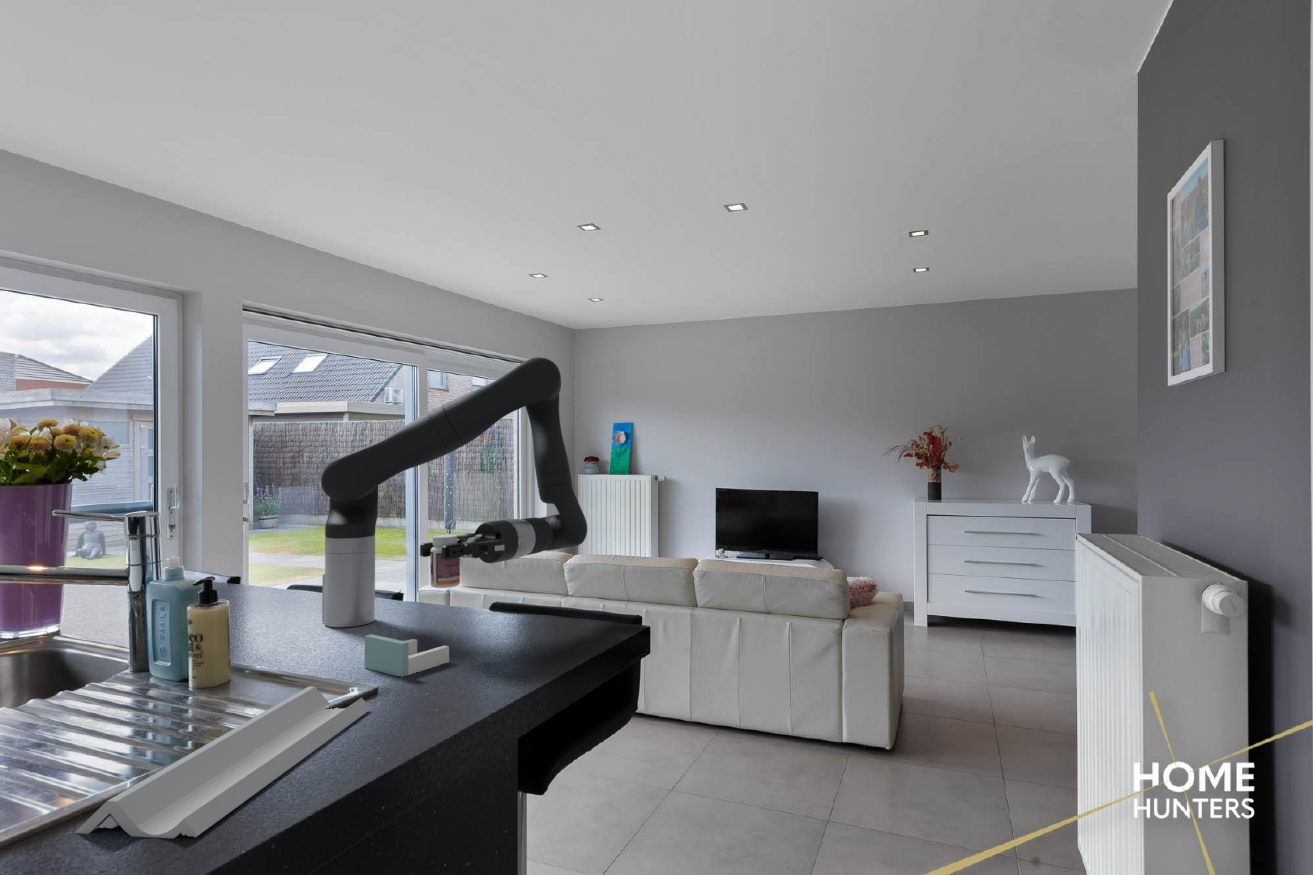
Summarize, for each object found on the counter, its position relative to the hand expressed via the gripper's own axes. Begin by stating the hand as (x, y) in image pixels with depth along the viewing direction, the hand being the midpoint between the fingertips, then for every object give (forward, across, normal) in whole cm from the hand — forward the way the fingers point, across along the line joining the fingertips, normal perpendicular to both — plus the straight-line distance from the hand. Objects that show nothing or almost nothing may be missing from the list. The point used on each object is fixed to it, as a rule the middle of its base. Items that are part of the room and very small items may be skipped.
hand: (432, 551), depth 119 cm
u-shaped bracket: (+5, 0, +17) cm, 18 cm away
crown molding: (+38, +14, +18) cm, 44 cm away
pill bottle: (-3, 0, +6) cm, 7 cm away
